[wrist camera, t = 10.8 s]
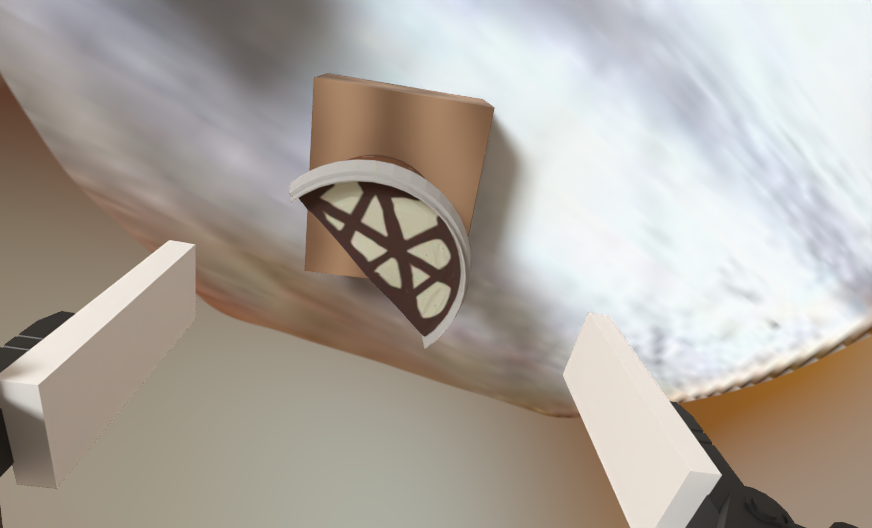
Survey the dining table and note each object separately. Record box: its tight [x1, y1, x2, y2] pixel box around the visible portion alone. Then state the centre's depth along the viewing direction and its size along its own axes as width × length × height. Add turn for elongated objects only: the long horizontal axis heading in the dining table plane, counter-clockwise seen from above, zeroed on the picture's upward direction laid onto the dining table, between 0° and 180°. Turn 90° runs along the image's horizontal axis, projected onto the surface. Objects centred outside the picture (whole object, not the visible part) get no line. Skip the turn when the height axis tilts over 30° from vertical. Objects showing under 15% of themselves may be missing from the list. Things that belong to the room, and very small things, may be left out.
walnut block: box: [305, 73, 494, 278], centre depth 36 cm, size 12×14×6 cm
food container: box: [289, 155, 471, 349], centre depth 29 cm, size 12×6×10 cm, turn 36°
